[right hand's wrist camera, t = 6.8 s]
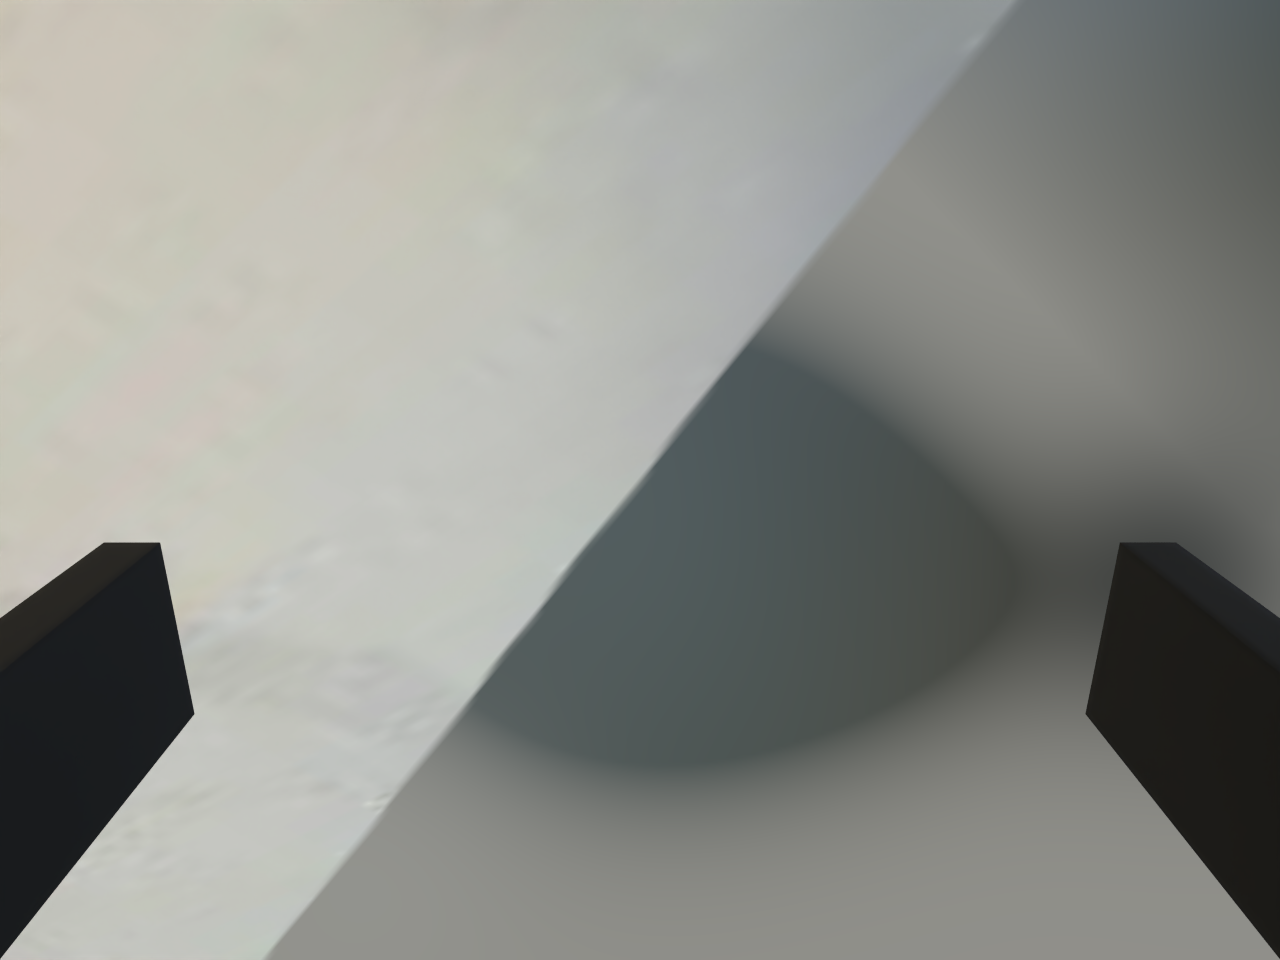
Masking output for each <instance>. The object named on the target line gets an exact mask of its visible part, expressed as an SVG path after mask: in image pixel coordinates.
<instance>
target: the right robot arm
mask: <svg viewBox="0 0 1280 960" xmlns="http://www.w3.org/2000/svg"><path fill="white" fill-rule="evenodd" d="M193 715H194V709H193V704H192V699H191V694H190V689H189V685H188V680H187V675H186V670H185V665H184V660H183V655H182V650H181V645H180V640H179V635H178V630H177V625H176V620H175V615H174V610H173V605H172V600H171V595H170V590H169V585H168V580H167V575H166V570H165V565H164V560H163V555H162V550H161V545H160V543H103V544H101V545H100V546H99V547H97V548H96V549H95V550H93V551H92V552H90V553H89V554H88V555H86V556H85V557H84V558H82V559H81V560H79V561H78V562H77V563H75V564H74V565H73V566H71V567H70V568H68V569H67V570H66V571H64V572H63V573H62V574H60V575H59V576H57V577H56V578H55V579H53V580H52V581H51V582H49V583H48V584H46V585H45V586H44V587H42V588H41V589H40V590H38V591H37V592H36V593H34V594H33V595H31V596H30V597H29V598H27V599H26V600H25V601H23V602H22V603H20V604H19V605H18V606H16V607H15V608H14V609H12V610H11V611H9V612H8V613H7V614H5V615H4V616H3V617H1V618H0V958H1V957H2V956H3V955H4V953H5V952H6V951H7V950H8V948H9V947H10V946H11V945H12V943H13V942H14V941H15V940H16V938H17V937H18V936H19V934H20V933H21V932H22V931H23V929H24V928H25V927H26V926H27V924H28V923H29V922H30V921H31V919H32V918H33V917H34V916H35V914H36V913H37V912H38V911H39V909H40V908H41V907H42V905H43V904H44V903H45V902H46V900H47V899H48V898H49V897H50V895H51V894H52V893H53V892H54V890H55V889H56V888H57V887H58V885H59V884H60V883H61V882H62V880H63V879H64V878H65V876H66V875H67V874H68V873H69V871H70V870H71V869H72V868H73V866H74V865H75V864H76V863H77V861H78V860H79V859H80V858H81V856H82V855H83V854H84V853H85V851H86V850H87V849H88V847H89V846H90V845H91V844H92V842H93V841H94V840H95V839H96V837H97V836H98V835H99V834H100V832H101V831H102V830H103V829H104V827H105V826H106V825H107V824H108V822H109V821H110V820H111V818H112V817H113V816H114V815H115V813H116V812H117V811H118V810H119V808H120V807H121V806H122V805H123V803H124V802H125V801H126V800H127V798H128V797H129V796H130V795H131V793H132V792H133V791H134V789H135V788H136V787H137V786H138V784H139V783H140V782H141V781H142V779H143V778H144V777H145V776H146V774H147V773H148V772H149V771H150V769H151V768H152V767H153V766H154V764H155V763H156V762H157V760H158V759H159V758H160V757H161V755H162V754H163V753H164V752H165V750H166V749H167V748H168V747H169V745H170V744H171V743H172V742H173V740H174V739H175V738H176V737H177V735H178V734H179V733H180V731H181V730H182V729H183V728H184V726H185V725H186V724H187V723H188V721H189V720H190V719H191V718H192V716H193ZM1086 715H1087V716H1088V718H1089V719H1090V720H1091V721H1092V723H1093V724H1094V725H1095V726H1096V728H1097V729H1098V730H1099V731H1100V733H1101V734H1102V735H1103V737H1104V738H1105V739H1106V740H1107V742H1108V743H1109V744H1110V745H1111V747H1112V748H1113V749H1114V750H1115V752H1116V753H1117V754H1118V755H1119V757H1120V758H1121V759H1122V760H1123V762H1124V763H1125V764H1126V766H1127V767H1128V768H1129V769H1130V770H1131V772H1132V773H1133V774H1134V776H1135V777H1136V778H1137V779H1138V781H1139V782H1140V783H1141V784H1142V786H1143V787H1144V788H1145V789H1146V791H1147V792H1148V793H1149V795H1150V796H1151V797H1152V798H1153V800H1154V801H1155V802H1156V803H1157V805H1158V806H1159V807H1160V808H1161V810H1162V811H1163V812H1164V813H1165V815H1166V816H1167V817H1168V818H1169V820H1170V821H1171V822H1172V823H1173V825H1174V826H1175V827H1176V829H1177V830H1178V831H1179V832H1180V834H1181V835H1182V836H1183V837H1184V839H1185V840H1186V841H1187V842H1188V844H1189V845H1190V846H1191V847H1192V849H1193V850H1194V851H1195V853H1196V854H1197V855H1198V856H1199V858H1200V859H1201V860H1202V861H1203V863H1204V864H1205V865H1206V866H1207V868H1208V869H1209V870H1210V871H1211V873H1212V874H1213V875H1214V876H1215V878H1216V879H1217V880H1218V882H1219V883H1220V884H1221V885H1222V887H1223V888H1224V889H1225V890H1226V892H1227V893H1228V894H1229V895H1230V897H1231V898H1232V899H1233V900H1234V902H1235V903H1236V904H1237V905H1238V907H1239V908H1240V909H1241V911H1242V912H1243V913H1244V914H1245V916H1246V917H1247V918H1248V919H1249V921H1250V922H1251V923H1252V924H1253V926H1254V927H1255V928H1256V929H1257V931H1258V932H1259V933H1260V934H1261V936H1262V937H1263V938H1264V940H1265V941H1266V942H1267V943H1268V945H1269V946H1270V947H1271V948H1272V950H1273V951H1274V952H1275V953H1276V955H1277V956H1278V957H1279V958H1280V618H1279V617H1277V616H1276V615H1275V614H1273V613H1272V612H1271V611H1269V610H1268V609H1266V608H1265V607H1264V606H1262V605H1261V604H1260V603H1258V602H1257V601H1255V600H1254V599H1253V598H1251V597H1250V596H1249V595H1247V594H1246V593H1244V592H1243V591H1242V590H1240V589H1239V588H1238V587H1236V586H1235V585H1233V584H1232V583H1231V582H1229V581H1228V580H1227V579H1225V578H1224V577H1222V576H1221V575H1220V574H1218V573H1217V572H1216V571H1214V570H1213V569H1212V568H1210V567H1209V566H1207V565H1206V564H1205V563H1203V562H1202V561H1201V560H1199V559H1198V558H1196V557H1195V556H1194V555H1192V554H1191V553H1190V552H1188V551H1187V550H1185V549H1184V548H1183V547H1181V546H1180V545H1179V544H1177V543H1120V545H1119V550H1118V555H1117V560H1116V565H1115V570H1114V575H1113V580H1112V585H1111V590H1110V595H1109V600H1108V605H1107V610H1106V615H1105V620H1104V625H1103V630H1102V635H1101V640H1100V645H1099V650H1098V655H1097V660H1096V665H1095V670H1094V675H1093V680H1092V685H1091V689H1090V694H1089V700H1088V704H1087V709H1086Z"/></svg>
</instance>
